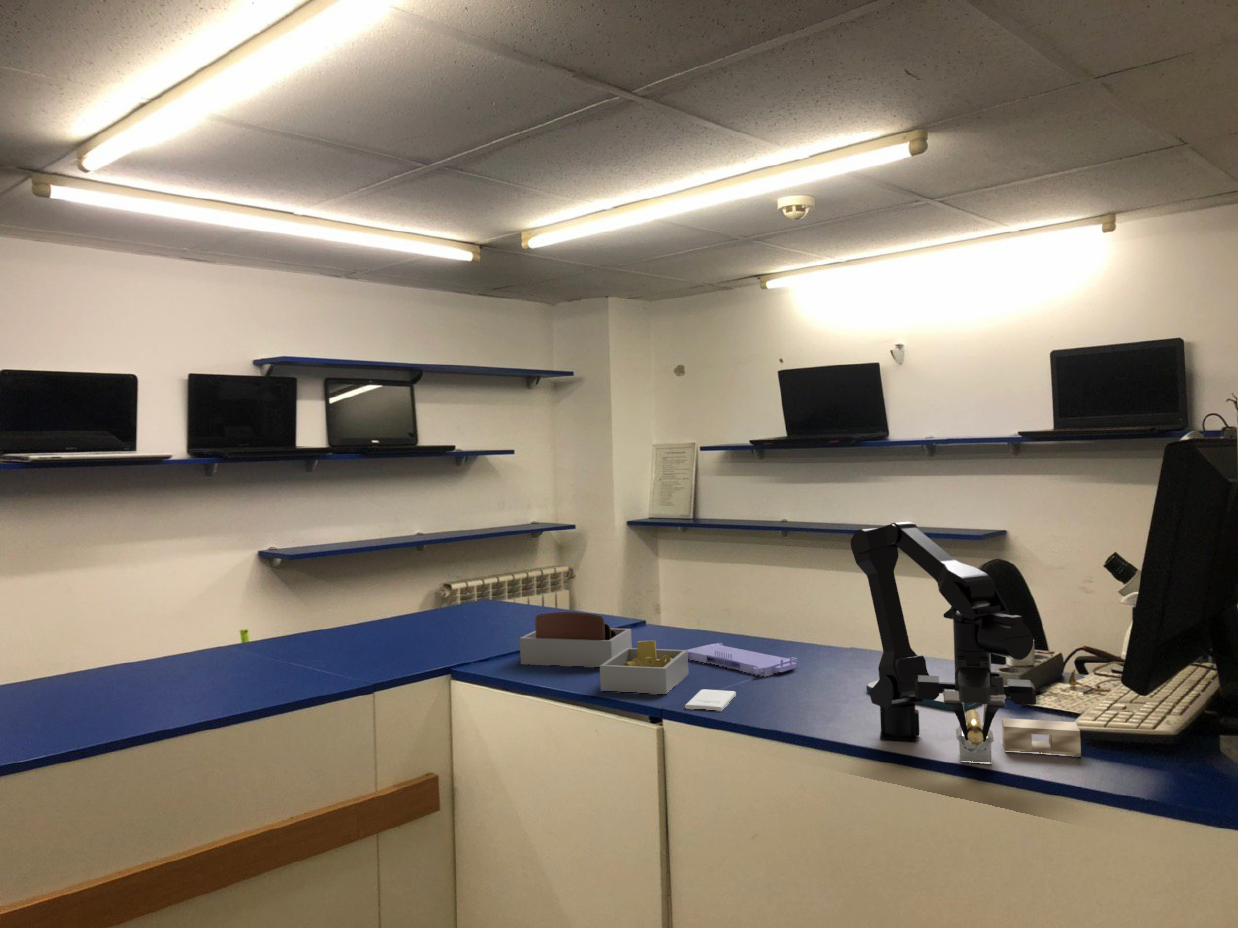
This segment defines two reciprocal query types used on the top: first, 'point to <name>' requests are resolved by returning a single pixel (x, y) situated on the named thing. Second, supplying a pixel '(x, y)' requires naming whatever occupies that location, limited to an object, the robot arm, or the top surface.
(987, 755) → the v block
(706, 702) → the external hard drive
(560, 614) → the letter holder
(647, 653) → the ball valve
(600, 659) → the holder tray
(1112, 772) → the top surface
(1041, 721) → the beam
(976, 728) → the axle
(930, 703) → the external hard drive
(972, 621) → the robot arm
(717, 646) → the computer part
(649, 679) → the tray
